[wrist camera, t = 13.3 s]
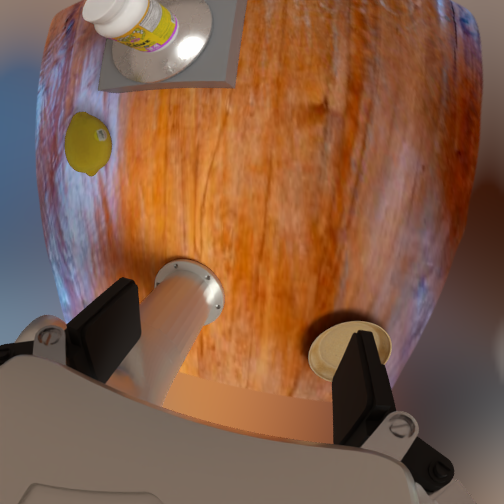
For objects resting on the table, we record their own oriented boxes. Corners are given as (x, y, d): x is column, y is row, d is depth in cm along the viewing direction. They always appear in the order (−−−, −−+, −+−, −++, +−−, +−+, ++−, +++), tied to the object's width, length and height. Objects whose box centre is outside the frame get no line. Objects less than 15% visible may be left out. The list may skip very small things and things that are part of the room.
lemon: (122, 170, 41) (91, 178, 34) (89, 175, 43) (58, 183, 35) (119, 107, 37) (87, 104, 30) (86, 116, 39) (54, 116, 31)
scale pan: (205, 80, 29) (202, 79, 29) (109, 88, 31) (105, 87, 30) (220, -14, 24) (218, -17, 23) (126, 3, 25) (123, 1, 25)
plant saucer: (404, 328, 43) (407, 337, 41) (359, 381, 49) (360, 391, 47) (334, 299, 43) (335, 308, 41) (294, 360, 49) (293, 369, 47)
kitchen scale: (234, 88, 34) (223, 79, 29) (116, 93, 36) (94, 90, 31) (250, -22, 26) (242, -40, 21) (136, -6, 29) (118, -17, 23)
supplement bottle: (129, 51, 28) (65, 30, 16) (149, 11, 25) (92, -22, 13) (168, 58, 28) (107, 30, 16) (189, 15, 25) (138, -27, 13)
